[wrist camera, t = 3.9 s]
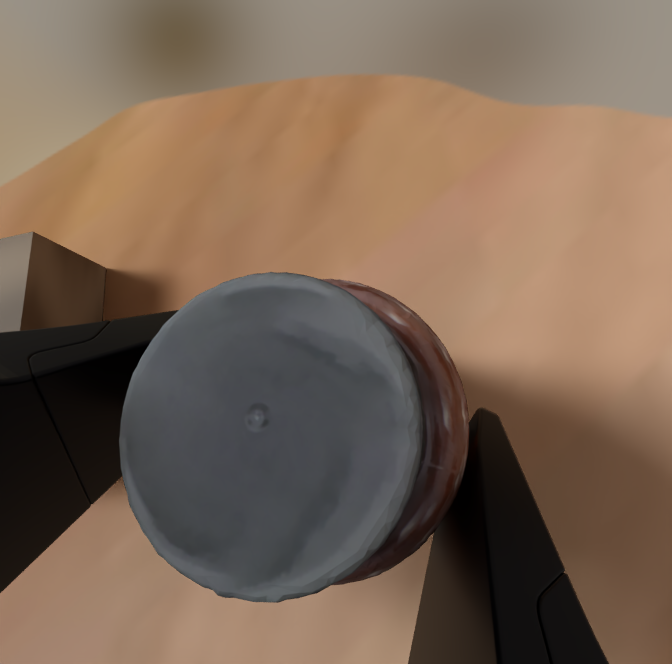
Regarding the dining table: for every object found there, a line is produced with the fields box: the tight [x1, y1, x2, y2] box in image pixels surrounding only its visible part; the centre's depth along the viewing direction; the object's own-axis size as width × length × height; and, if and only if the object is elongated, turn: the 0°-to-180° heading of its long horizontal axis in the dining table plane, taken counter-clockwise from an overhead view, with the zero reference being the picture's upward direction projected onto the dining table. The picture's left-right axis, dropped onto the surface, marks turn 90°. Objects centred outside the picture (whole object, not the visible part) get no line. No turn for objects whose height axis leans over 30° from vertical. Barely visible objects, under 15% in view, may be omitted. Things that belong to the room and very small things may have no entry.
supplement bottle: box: [119, 272, 469, 602], centre depth 10 cm, size 6×6×11 cm
